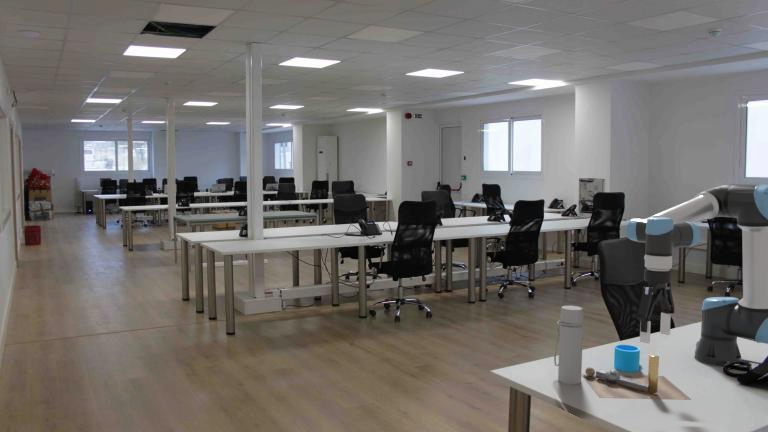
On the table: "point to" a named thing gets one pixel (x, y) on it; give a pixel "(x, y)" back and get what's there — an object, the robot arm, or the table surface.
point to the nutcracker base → (620, 391)
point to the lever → (615, 378)
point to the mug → (626, 358)
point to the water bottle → (570, 344)
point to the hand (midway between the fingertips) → (655, 338)
